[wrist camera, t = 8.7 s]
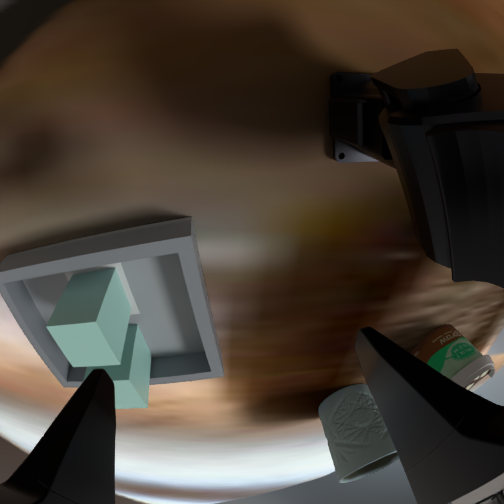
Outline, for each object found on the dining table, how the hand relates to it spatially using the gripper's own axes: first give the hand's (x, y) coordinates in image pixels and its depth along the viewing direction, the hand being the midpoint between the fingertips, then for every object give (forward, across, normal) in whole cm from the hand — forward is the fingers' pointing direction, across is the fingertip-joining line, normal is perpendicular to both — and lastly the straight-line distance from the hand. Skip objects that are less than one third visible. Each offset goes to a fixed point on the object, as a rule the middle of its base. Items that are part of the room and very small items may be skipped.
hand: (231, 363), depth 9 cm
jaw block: (+12, +10, +5) cm, 16 cm away
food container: (+13, -27, +22) cm, 37 cm away
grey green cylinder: (+13, -14, +31) cm, 36 cm away
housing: (+13, +10, +7) cm, 18 cm away
